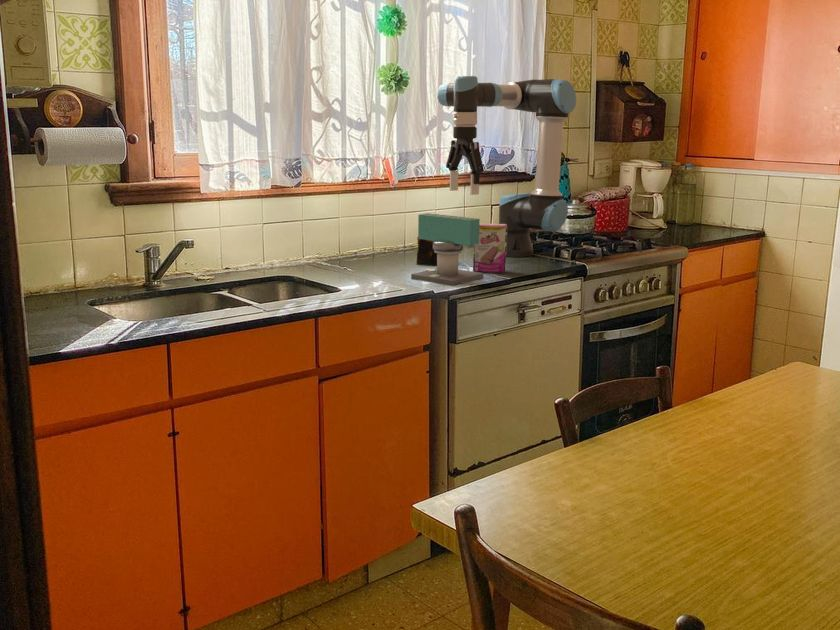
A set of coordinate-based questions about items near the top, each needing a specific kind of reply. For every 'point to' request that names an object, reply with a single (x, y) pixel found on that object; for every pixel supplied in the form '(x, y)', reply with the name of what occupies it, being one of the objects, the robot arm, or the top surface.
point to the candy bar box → (490, 249)
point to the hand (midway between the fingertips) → (464, 192)
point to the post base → (448, 279)
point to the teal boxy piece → (448, 231)
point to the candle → (426, 253)
